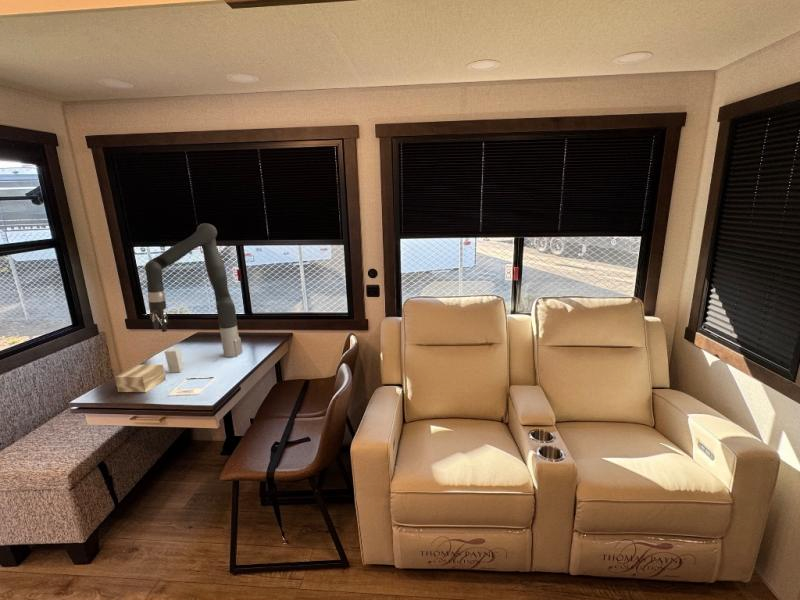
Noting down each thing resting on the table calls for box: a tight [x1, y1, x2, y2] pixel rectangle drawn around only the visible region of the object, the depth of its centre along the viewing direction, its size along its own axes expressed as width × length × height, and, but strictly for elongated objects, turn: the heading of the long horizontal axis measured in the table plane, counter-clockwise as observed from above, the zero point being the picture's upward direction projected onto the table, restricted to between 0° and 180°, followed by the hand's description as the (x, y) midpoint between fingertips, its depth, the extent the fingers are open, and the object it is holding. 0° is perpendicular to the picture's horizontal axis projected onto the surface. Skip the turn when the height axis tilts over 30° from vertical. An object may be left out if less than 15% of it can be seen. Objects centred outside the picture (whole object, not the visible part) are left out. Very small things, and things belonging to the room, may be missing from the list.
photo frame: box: [167, 376, 216, 397], centre depth 188 cm, size 15×1×18 cm
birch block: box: [114, 364, 167, 393], centre depth 190 cm, size 14×14×8 cm
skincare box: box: [164, 348, 185, 373], centre depth 205 cm, size 6×4×12 cm
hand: (160, 330), depth 204 cm, fingers open, 8 cm apart
